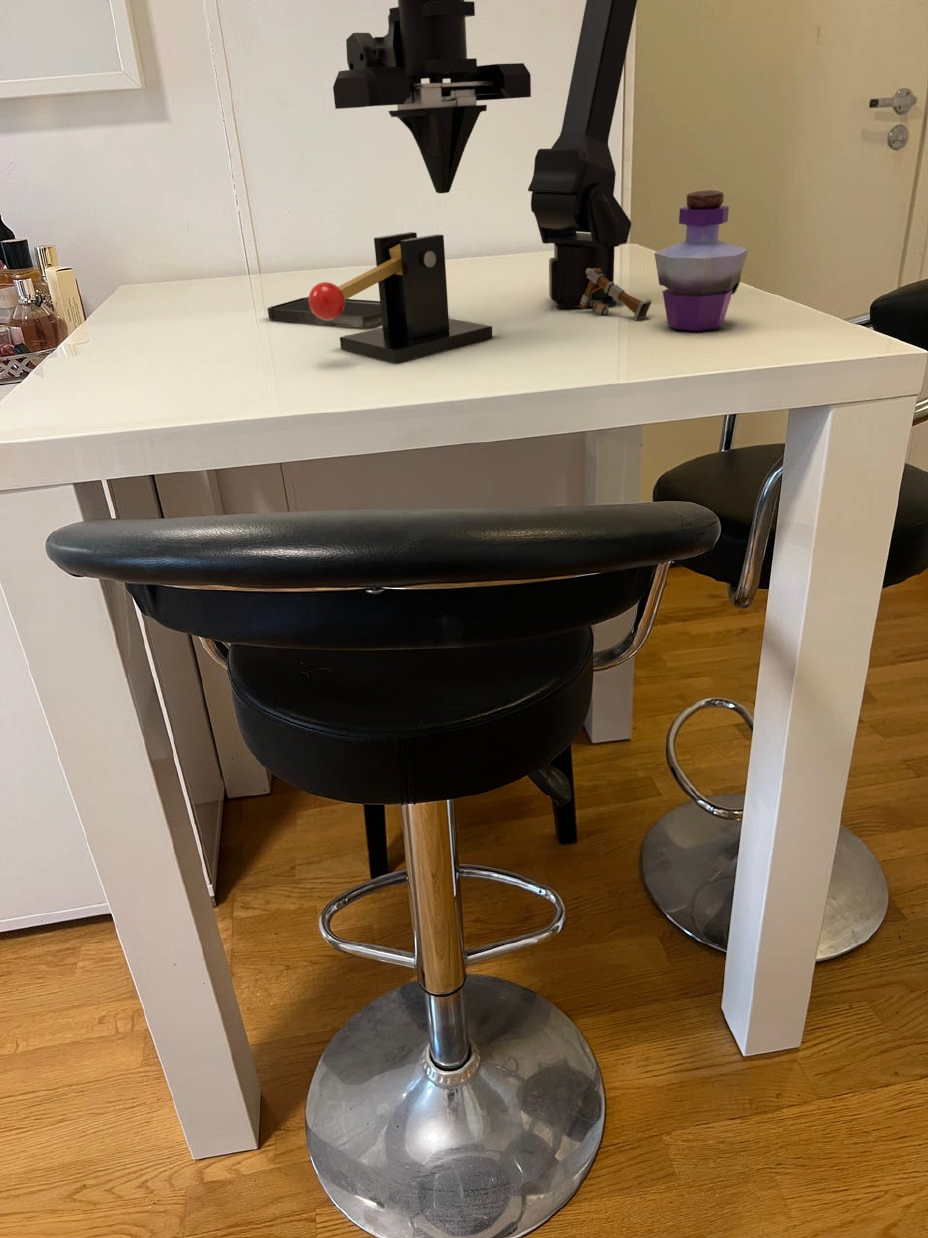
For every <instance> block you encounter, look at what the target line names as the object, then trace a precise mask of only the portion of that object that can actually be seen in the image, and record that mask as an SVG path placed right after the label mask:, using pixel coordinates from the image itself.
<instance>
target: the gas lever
mask: <svg viewBox="0 0 928 1238" xmlns="http://www.w3.org/2000/svg"><path fill="white" fill-rule="evenodd" d="M410 239H412V238H410ZM389 253H390V256H391V259H390V260H388V261H386V262H384V263H383V264H381V265H379V266H377V265H376V266H374V267H373V268H371V269H369V270H367V271H366V272H363V273H362V274H359V275H358V276H356V277H354V278H352V279H350V280H348V281H346V282H344V283H342V284H341V285H339V286H337V285H336V284H335V283H332V282H329V281H323V282H319V283H317V284H316V285H314V286H313V287H312V289H310V292H309V294H308V297H309V307H310V309H311V311H312V312H313V314H314V315H315V316H317V317H318V318H320V319H322V320H333V319H335V318H337V317H338V316H339V315H340V314H341V313H342V311H343V309H344V305H345V300H346V299H351V298H352V297H354V296H356V295H357V294H360V293H361V292H363V291H364V290H365V291H366V290H367V289H369V288H370V287H372V286H374V285H377V284H378V282H380V281H382V280H383V279H385V278H387V277H389V276H391V275H393V274H396V275H403V272H402V261H401V249H400V244H398V245H396V246H394V247H392V248H390V249H389Z"/></svg>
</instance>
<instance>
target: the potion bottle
mask: <svg viewBox="0 0 928 1238" xmlns="http://www.w3.org/2000/svg"><path fill="white" fill-rule="evenodd" d="M724 195H725V194H724V192H723V191H720V190H712V189H710V190H698V191H693V192H689V193H687V194H686V206H684V207H681V208H679V213H678V214H679V216H678V224H680V225H685V226H686V232H685V241H682V242H678V243H676V244H674V245H671V246H667V247H665V248H662V249H660V250H658V251H656V252H654V259H655V267H656V271H657V273H656V274H657V278H658V285H659V286H662V287H664V288H666V289H664V290H662V296H663V302H664V308H665V315H666V322H667V326H666V328H667V329H669V330H671V331H674V332H679V333H692V334H693V333H695V334H700V333H709V332H717V331H720V330H721V329H722V328H724V327H725V326H726V325H725V324H724V322H725V318H726V315H727V312H728V308H729V305H730V302H731V298H732V296H733V295H734V294H736V293H737V291H738V288H739V286H740V284H741V279H742V271H743V269H744V265H745V262H746V258H747V255H748V252H749V249H748V248H744V247H741V246H738V245H735V244H732V243H729V242H725V241H722V240H719V232H720V231H719V230H720V225H723V224H725V223H727V222H728V221H729V210H730V206H728V205H723V203H724V199H725V197H724Z"/></svg>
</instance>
